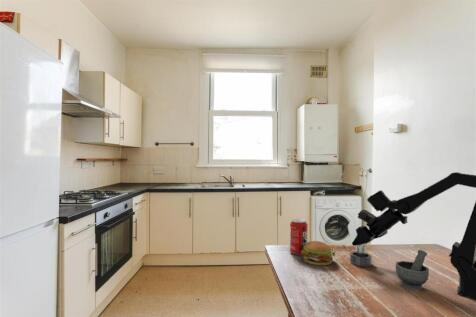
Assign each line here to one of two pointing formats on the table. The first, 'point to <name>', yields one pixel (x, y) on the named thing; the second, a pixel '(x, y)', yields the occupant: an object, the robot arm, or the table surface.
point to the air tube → (361, 250)
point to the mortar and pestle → (413, 272)
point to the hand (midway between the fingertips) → (357, 242)
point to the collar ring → (361, 260)
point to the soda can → (298, 235)
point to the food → (317, 253)
